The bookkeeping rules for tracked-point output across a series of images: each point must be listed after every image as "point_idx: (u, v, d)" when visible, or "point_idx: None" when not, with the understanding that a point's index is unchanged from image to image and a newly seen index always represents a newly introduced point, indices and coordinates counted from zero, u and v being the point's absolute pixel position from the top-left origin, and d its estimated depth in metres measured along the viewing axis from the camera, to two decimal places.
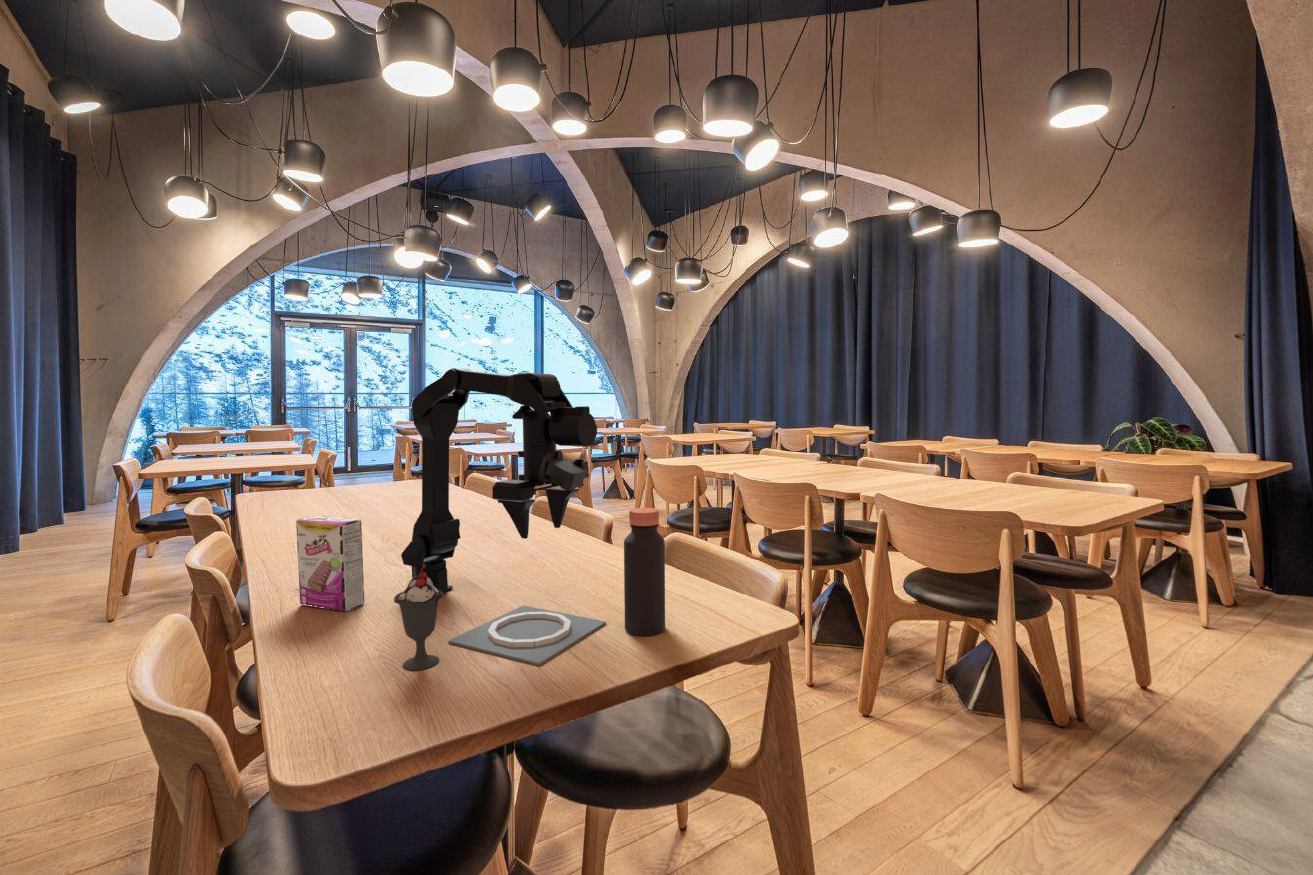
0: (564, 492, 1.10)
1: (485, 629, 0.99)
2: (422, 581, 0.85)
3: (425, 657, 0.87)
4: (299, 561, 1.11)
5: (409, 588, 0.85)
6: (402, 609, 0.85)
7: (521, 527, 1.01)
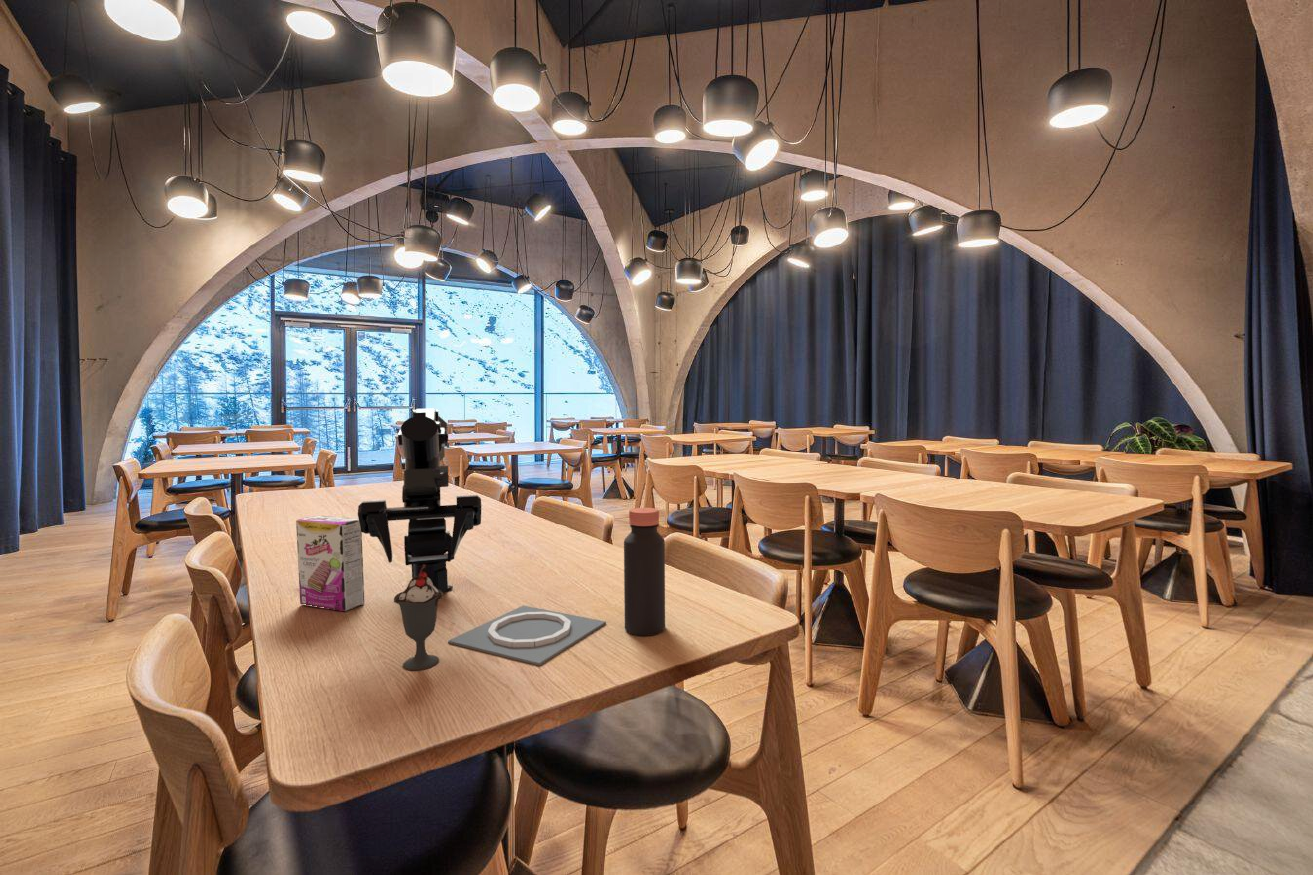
0: None
1: (485, 629, 0.99)
2: (422, 581, 0.85)
3: (425, 657, 0.87)
4: (299, 561, 1.11)
5: (409, 588, 0.85)
6: (402, 609, 0.85)
7: (385, 550, 0.94)
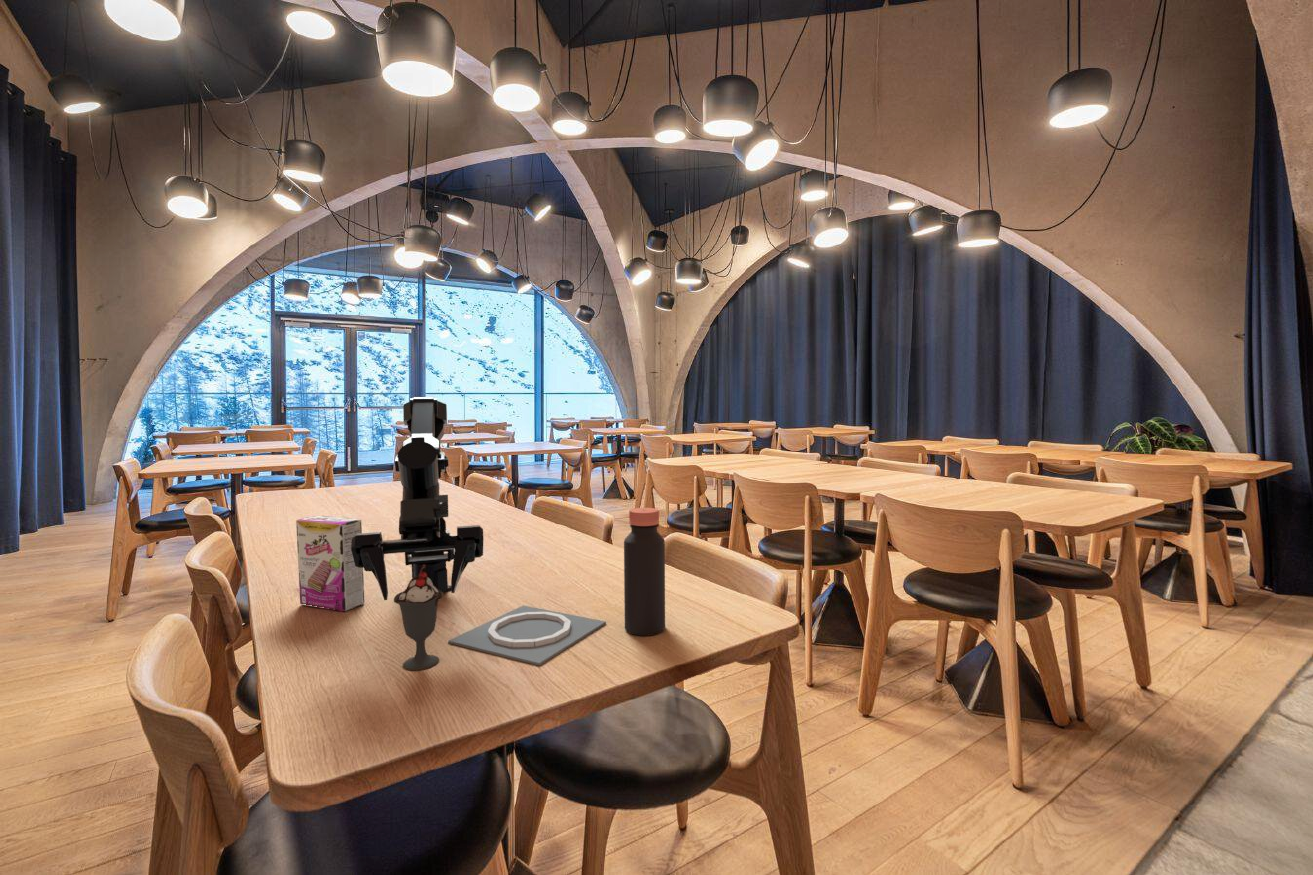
0: None
1: (485, 629, 0.99)
2: (422, 581, 0.85)
3: (425, 657, 0.87)
4: (299, 561, 1.11)
5: (409, 588, 0.85)
6: (402, 609, 0.85)
7: (380, 586, 0.87)
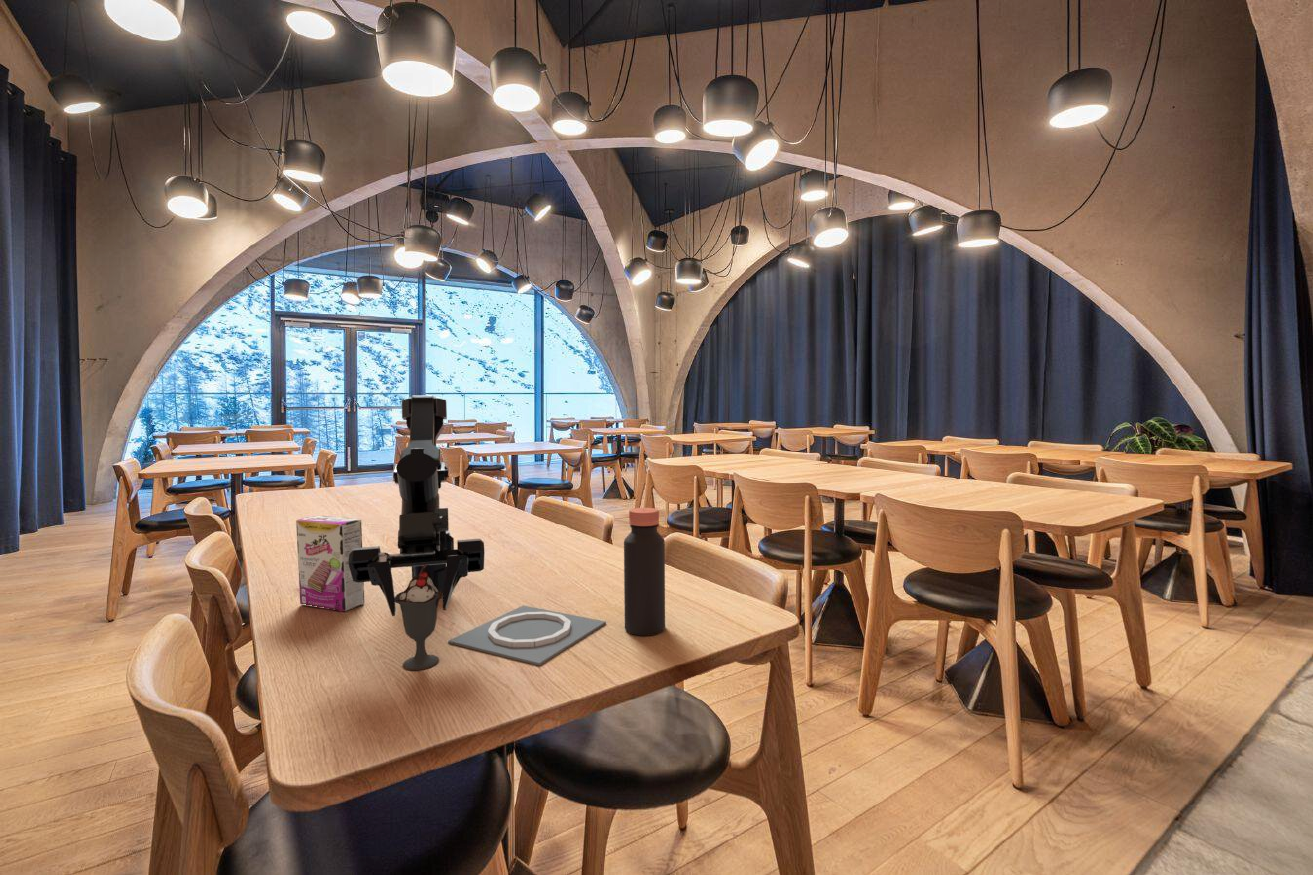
0: None
1: (485, 629, 0.99)
2: (423, 581, 0.85)
3: (425, 657, 0.87)
4: (299, 561, 1.11)
5: (410, 588, 0.85)
6: (402, 609, 0.85)
7: (387, 602, 0.85)
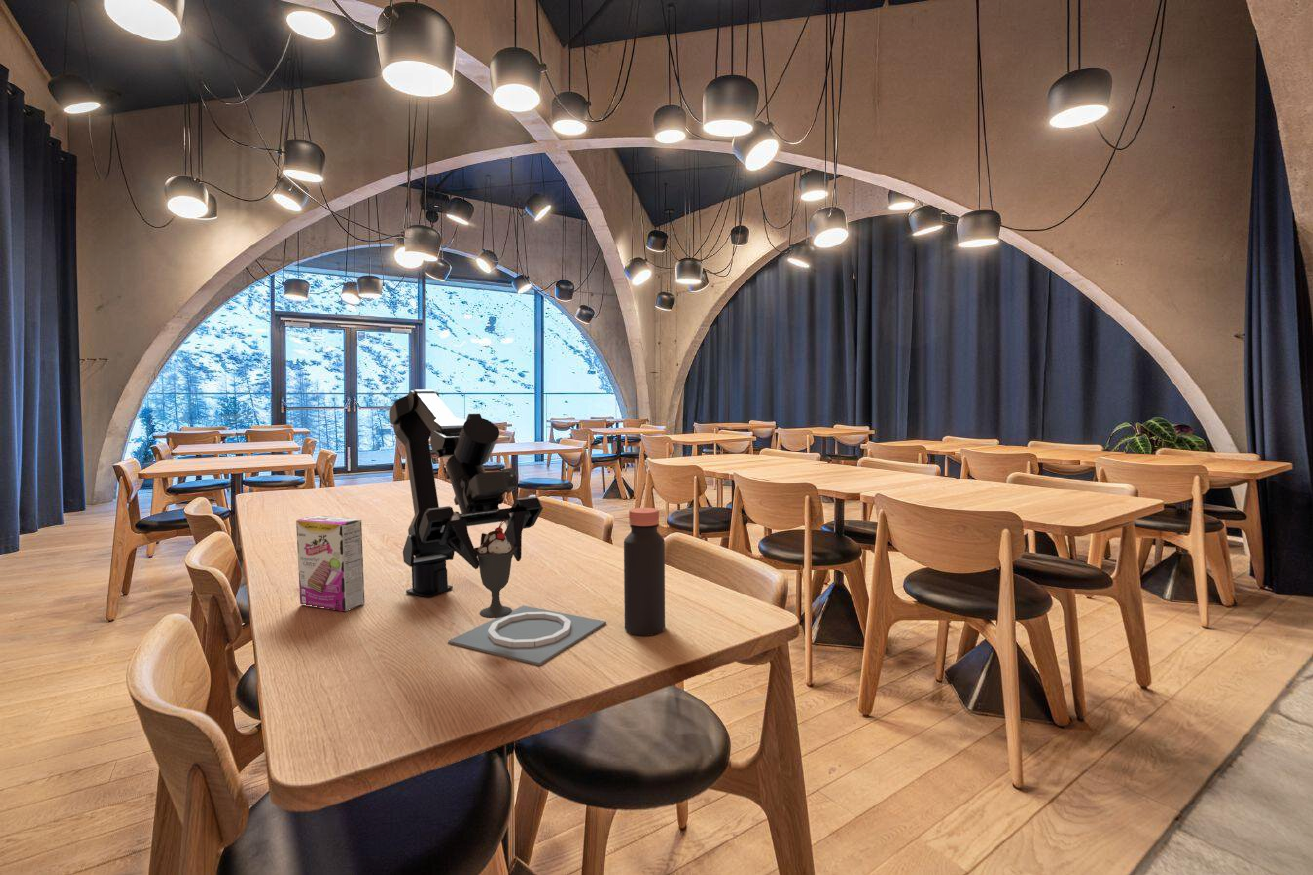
0: (511, 519, 0.97)
1: (485, 629, 0.99)
2: (503, 534, 0.92)
3: (501, 606, 0.93)
4: (299, 561, 1.11)
5: (490, 542, 0.91)
6: (485, 562, 0.91)
7: (468, 556, 0.90)
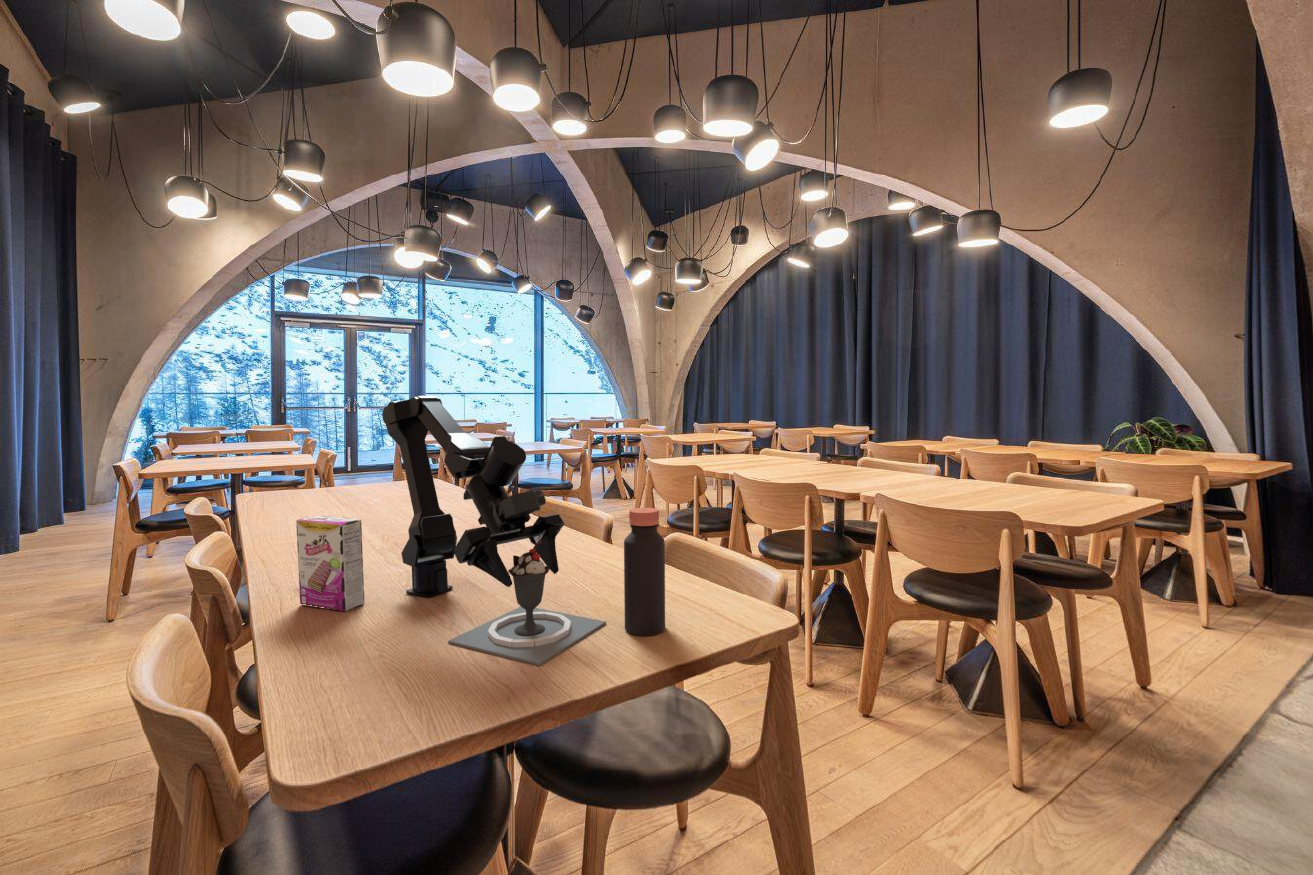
0: (544, 535, 1.03)
1: (485, 629, 0.99)
2: (539, 555, 0.97)
3: (535, 623, 0.99)
4: (299, 561, 1.11)
5: (526, 563, 0.96)
6: (523, 582, 0.96)
7: (500, 575, 0.94)
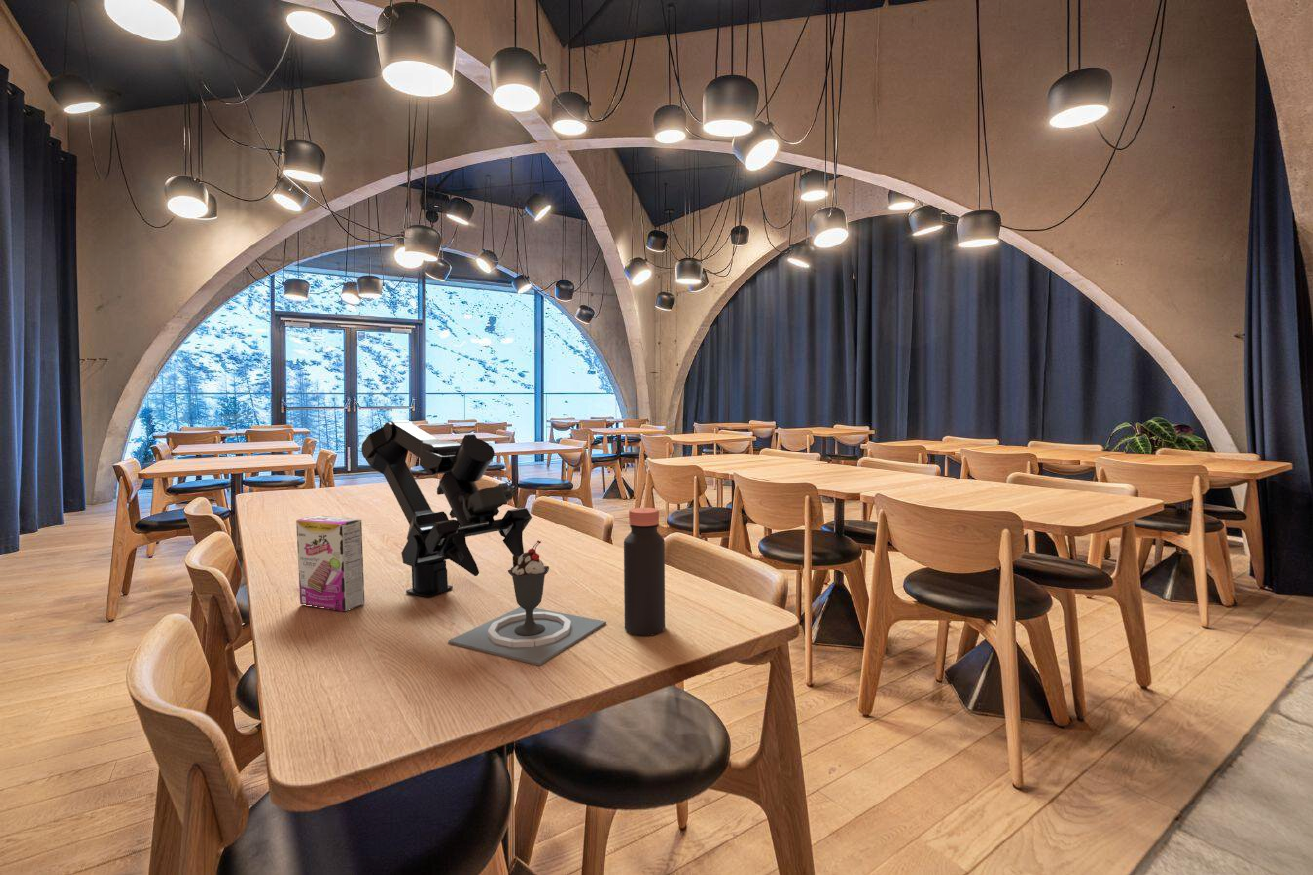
0: (512, 528, 1.09)
1: (485, 629, 0.99)
2: (538, 555, 0.97)
3: (535, 623, 0.99)
4: (299, 561, 1.11)
5: (526, 563, 0.96)
6: (523, 582, 0.96)
7: (468, 565, 1.00)
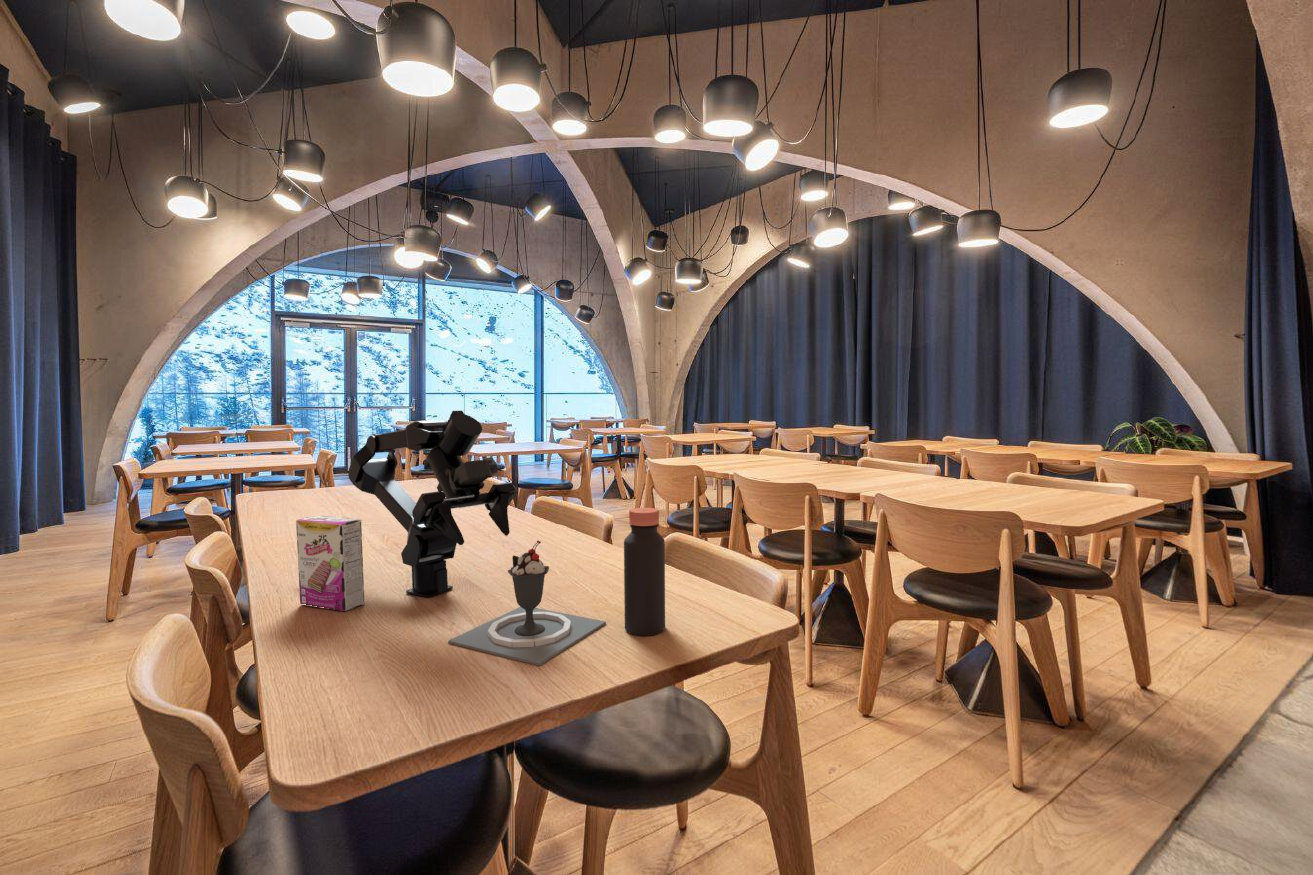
0: (497, 501, 1.12)
1: (485, 629, 0.99)
2: (538, 555, 0.97)
3: (535, 623, 0.99)
4: (299, 561, 1.11)
5: (526, 563, 0.96)
6: (523, 582, 0.95)
7: (453, 534, 1.03)
